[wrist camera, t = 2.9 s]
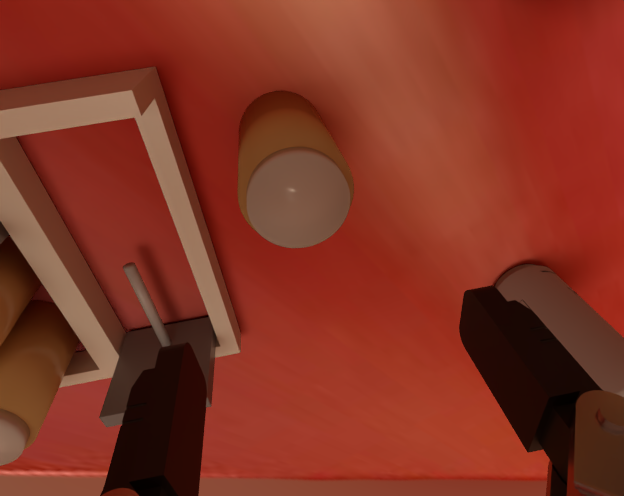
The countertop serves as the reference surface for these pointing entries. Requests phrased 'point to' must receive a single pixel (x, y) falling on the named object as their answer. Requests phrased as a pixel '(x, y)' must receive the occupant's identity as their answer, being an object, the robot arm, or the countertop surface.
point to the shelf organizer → (53, 232)
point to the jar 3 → (291, 172)
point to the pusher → (155, 351)
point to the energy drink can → (569, 322)
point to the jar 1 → (14, 286)
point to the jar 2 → (31, 374)
